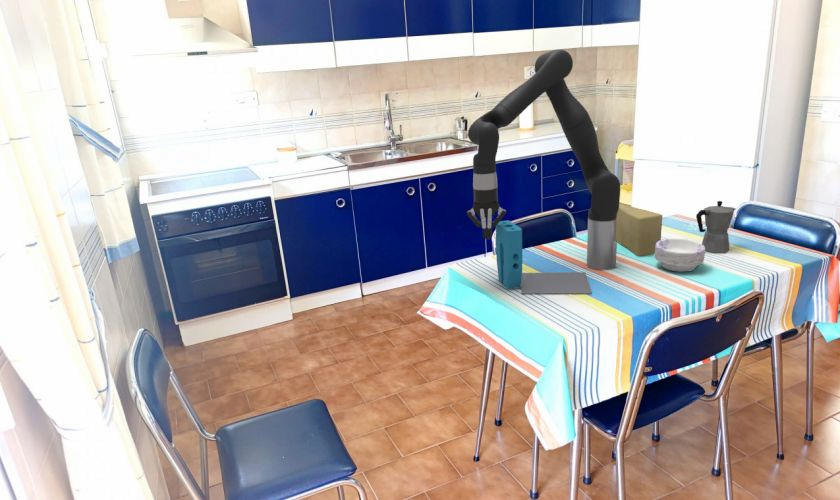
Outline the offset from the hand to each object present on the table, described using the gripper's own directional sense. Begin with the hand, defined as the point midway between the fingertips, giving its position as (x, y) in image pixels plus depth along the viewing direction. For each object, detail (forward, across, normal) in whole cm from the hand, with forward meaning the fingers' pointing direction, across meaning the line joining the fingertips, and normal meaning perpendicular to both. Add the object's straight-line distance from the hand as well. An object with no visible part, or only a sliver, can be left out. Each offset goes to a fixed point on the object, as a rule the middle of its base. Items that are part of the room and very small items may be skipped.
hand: (487, 238), depth 182 cm
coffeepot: (+16, -79, -31) cm, 86 cm away
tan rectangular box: (+16, -52, -36) cm, 65 cm away
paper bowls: (+16, -63, -14) cm, 67 cm away
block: (+16, -7, 0) cm, 17 cm away
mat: (+16, -21, 0) cm, 27 cm away
